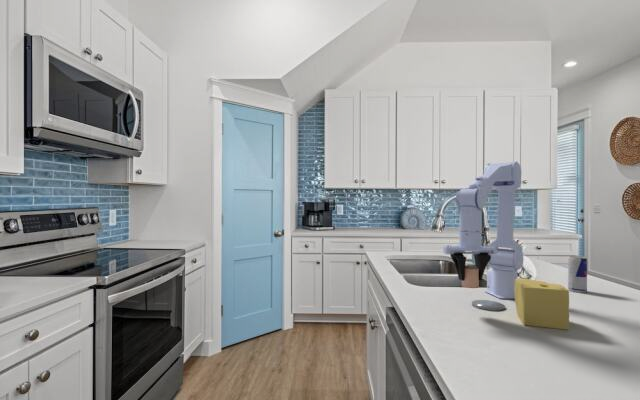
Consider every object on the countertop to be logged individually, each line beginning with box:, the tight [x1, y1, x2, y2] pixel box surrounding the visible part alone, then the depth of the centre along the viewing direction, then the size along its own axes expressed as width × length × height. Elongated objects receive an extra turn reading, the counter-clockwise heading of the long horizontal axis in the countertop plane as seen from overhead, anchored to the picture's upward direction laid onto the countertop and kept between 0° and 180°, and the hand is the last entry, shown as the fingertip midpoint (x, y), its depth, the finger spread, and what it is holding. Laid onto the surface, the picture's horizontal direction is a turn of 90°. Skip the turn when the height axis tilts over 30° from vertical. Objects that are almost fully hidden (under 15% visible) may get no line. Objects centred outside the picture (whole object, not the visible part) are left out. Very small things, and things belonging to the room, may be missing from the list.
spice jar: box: [461, 263, 480, 289], centre depth 99 cm, size 4×4×6 cm
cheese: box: [514, 278, 570, 330], centre depth 92 cm, size 10×11×10 cm
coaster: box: [471, 299, 506, 312], centre depth 105 cm, size 9×9×1 cm
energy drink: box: [567, 255, 588, 294], centre depth 124 cm, size 5×5×12 cm
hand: (470, 279), depth 99 cm, fingers closed on spice jar, 4 cm apart
